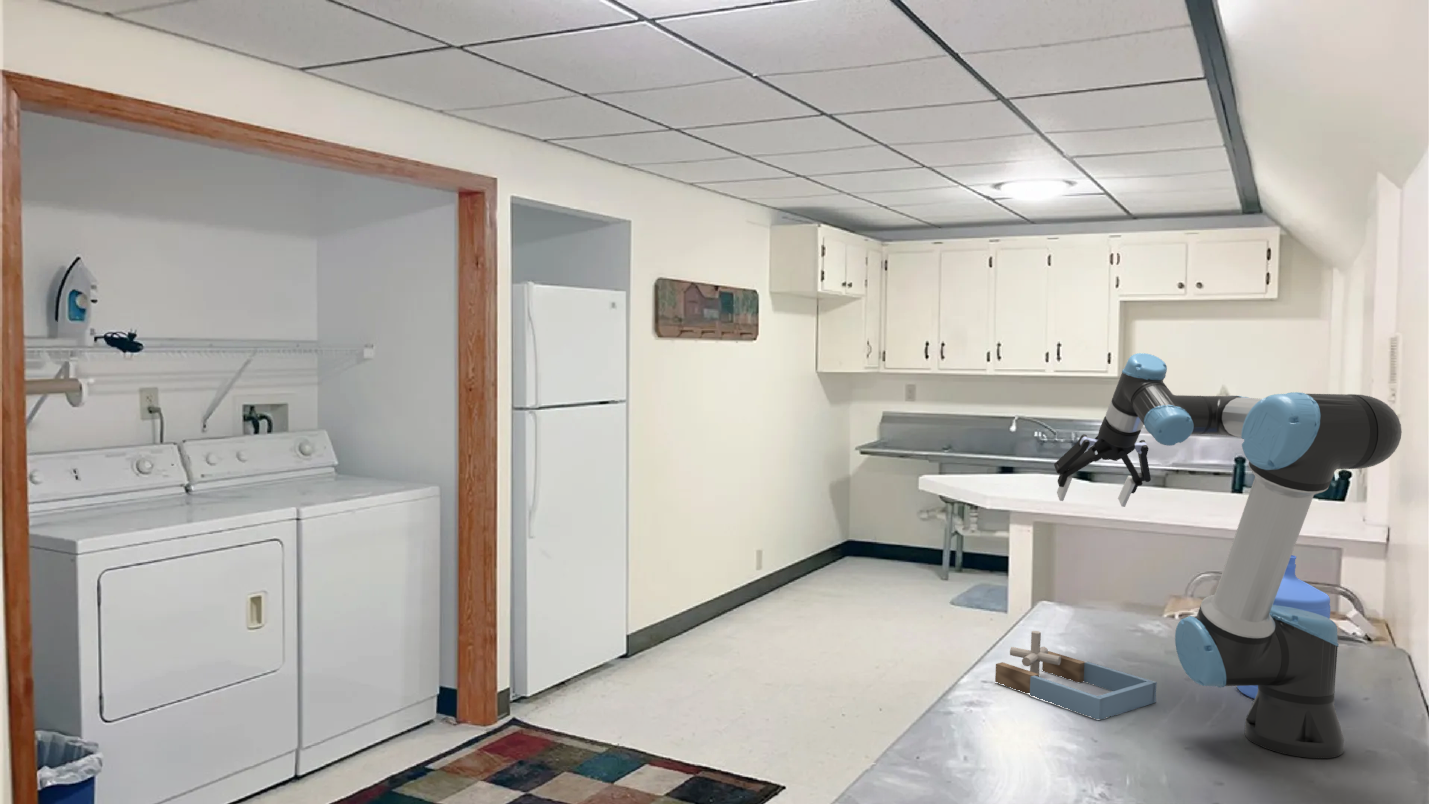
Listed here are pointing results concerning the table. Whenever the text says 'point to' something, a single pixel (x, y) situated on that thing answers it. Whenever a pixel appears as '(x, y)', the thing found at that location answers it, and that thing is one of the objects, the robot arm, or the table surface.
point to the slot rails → (1021, 677)
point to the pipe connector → (1035, 654)
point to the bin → (1124, 697)
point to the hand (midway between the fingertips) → (1090, 499)
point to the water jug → (1295, 603)
